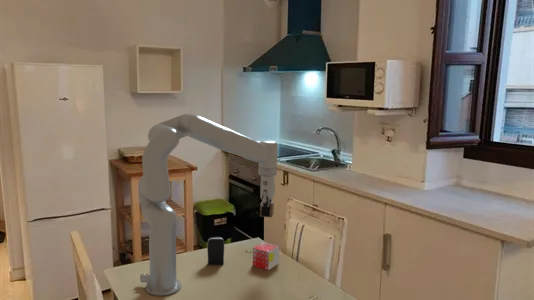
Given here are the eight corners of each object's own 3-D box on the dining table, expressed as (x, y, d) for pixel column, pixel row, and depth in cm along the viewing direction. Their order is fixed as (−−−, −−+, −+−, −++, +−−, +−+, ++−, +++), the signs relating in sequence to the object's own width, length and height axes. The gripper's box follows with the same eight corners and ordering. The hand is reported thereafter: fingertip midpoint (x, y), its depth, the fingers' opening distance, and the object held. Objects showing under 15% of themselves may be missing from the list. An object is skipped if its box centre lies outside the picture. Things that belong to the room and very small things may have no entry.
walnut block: (259, 216, 174) (260, 204, 173) (261, 212, 179) (262, 201, 178) (271, 217, 173) (272, 205, 173) (273, 213, 178) (273, 202, 177)
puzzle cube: (268, 270, 174) (268, 252, 173) (252, 265, 178) (252, 247, 177) (278, 263, 181) (279, 246, 180) (263, 259, 185) (263, 241, 184)
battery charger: (223, 260, 182) (223, 235, 180) (224, 264, 178) (224, 238, 177) (207, 261, 181) (207, 236, 179) (207, 265, 177) (207, 239, 175)
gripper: (273, 175, 164) (272, 220, 167) (279, 167, 181) (278, 208, 184) (254, 174, 165) (254, 219, 168) (262, 166, 182) (261, 207, 185)
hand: (266, 213), depth 176 cm, fingers closed on walnut block, 5 cm apart
